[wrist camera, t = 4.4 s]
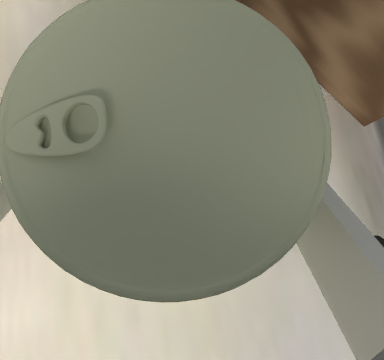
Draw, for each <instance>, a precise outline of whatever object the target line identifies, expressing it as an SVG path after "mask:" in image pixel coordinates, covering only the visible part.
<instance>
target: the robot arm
mask: <svg viewBox="0 0 384 360" xmlns="http://www.w3.org/2000/svg"><path fill="white" fill-rule="evenodd" d="M10 210H11V206H10V204H9V202H8V199H7V197H6V194H5V191H4V188H3V185H2V183H1V181H0V221H1V220H2V219H3V218H4V217H5V215H6V214H7V213H8V212H9V211H10ZM296 243H297V245H298V247H299V249H300V251H301V253H302V255H303V257H304V259H305V261H306V263H307V265H308V267H309V268H310V270H311V272H312V274H313V276H314V278H315V280H316V282H317V284H318V286H319V288H320V290H321V292H322V294H323V296H324V298H325V300H326V301H327V303H328V305H329V307H330V309H331V311H332V313H333V315H334V317H335V319H336V321H337V323H338V325H339V327H340V329H341V331H342V332H343V334H344V336H345V338H346V340H347V342H348V344H349V346H350V348H351V350H352V352H353V354H354V356H355V358H356V360H384V239H383V238H381V237H380V236H373V235H372V234H371V232H370V231H369V230H368V229H367V228H366V227H365V226H364V224H363V223H362V222H361V221H360V220H359V219H358V218H357V216H356V215H355V214H354V213H353V212H352V211H351V210H350V209H349V207H348V206H347V205H346V204H345V203H344V202H343V201H342V199H341V198H340V197H339V196H338V195H337V194H336V193H335V191H334V190H333V189H332V188H331V187H330V186H329V185H328V184H326V188H325V191H324V194H323V196H322V199H321V202H320V204H319V207H318V209H317V211H316V213H315V215H314V217H313V219H312V221H311V222H310V224H309V226H308V227H307V229H306V230H305V232H304V233H303V235H302V236H301V237H300V238H299V240H298V241H297V242H296Z"/></svg>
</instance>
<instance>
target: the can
mask: <svg viewBox="0 0 384 360" xmlns="http://www.w3.org/2000/svg"><path fill="white" fill-rule="evenodd" d="M330 163H331V127H330V120H329V115H328V111H327V107H326V104H325V100H324V97H323V94H322V91H321V88H320V86H319V84H318V82H317V80H316V78H315V76H314V74H313V72H312V70H311V68H310V66H309V65H308V63H307V62H306V60H305V59H304V57H303V56H302V54H301V53H300V51H299V50H298V49H297V48H296V47H295V45H294V44H293V43H292V42H291V41H290V39H289V38H288V37H287V36H286V35H285V34H283V33H282V32H281V31H280V30H279V29H278V28H277V27H276V26H275V25H274V24H272V23H271V22H270V21H268V20H267V19H266V18H264V17H263V16H262V15H260V14H259V13H257V12H256V11H254V10H252V9H251V8H249V7H247V6H246V5H244V4H242V3H240V2H238V1H235V0H88V1H86V2H84V3H82V4H79V5H78V6H76V7H74V8H73V9H71V10H69V11H68V12H66V13H65V14H63V15H62V16H60V17H59V18H58V19H56V20H55V21H54V22H53V23H52V24H51V25H49V26H48V27H47V28H46V29H45V30H44V31H43V32H42V33H41V34H40V35H39V36H38V37H37V38H36V39H35V40H34V41H33V42H32V43H31V44H30V46H29V47H28V48H27V50H26V51H25V53H24V54H23V55H22V57H21V58H20V60H19V62H18V63H17V65H16V67H15V69H14V70H13V72H12V74H11V76H10V79H9V81H8V83H7V86H6V88H5V91H4V94H3V97H2V100H1V105H0V177H1V181H2V185H3V188H4V191H5V194H6V197H7V199H8V202H9V204H10V206H11V208H12V210H13V212H14V214H15V215H16V217H17V219H18V221H19V223H20V224H21V226H22V227H23V229H24V230H25V232H26V233H27V234H28V235H29V237H30V238H31V239H32V240H33V241H34V243H35V244H36V245H37V246H38V247H39V248H40V249H41V250H42V251H43V252H44V253H45V255H47V256H48V257H49V258H50V259H51V260H52V261H54V262H55V263H56V264H57V265H58V266H60V267H61V268H62V269H64V270H65V271H66V272H68V273H70V274H71V275H73V276H74V277H76V278H78V279H79V280H81V281H83V282H85V283H87V284H89V285H91V286H94V287H96V288H98V289H100V290H103V291H106V292H109V293H112V294H115V295H118V296H121V297H126V298H130V299H135V300H142V301H151V302H182V301H189V300H197V299H202V298H206V297H210V296H215V295H218V294H221V293H224V292H227V291H230V290H232V289H234V288H237V287H239V286H241V285H243V284H245V283H247V282H248V281H250V280H252V279H254V278H255V277H257V276H259V275H261V274H262V273H263V272H265V271H266V270H267V269H269V268H270V267H271V266H273V265H274V264H275V263H276V262H278V261H279V260H280V259H281V258H282V257H283V256H284V255H285V254H286V253H287V252H288V251H289V250H290V249H291V248H292V247H293V246H294V245H295V243H296V242H297V241H298V240H299V238H300V237H301V236H302V235H303V233H304V232H305V230H306V229H307V227H308V226H309V224H310V222H311V221H312V219H313V217H314V215H315V213H316V211H317V209H318V207H319V204H320V202H321V199H322V196H323V194H324V191H325V188H326V184H327V180H328V175H329V170H330Z"/></svg>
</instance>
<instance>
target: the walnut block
mask: <svg viewBox="0 0 384 360" xmlns="http://www.w3.org/2000/svg"><path fill="white" fill-rule="evenodd" d="M235 1H238V2H240V3H242V4H244V5H246V6H247V7H249V8H251V9H252V10H254V11H256V12H257V13H259V14H260V15H262V16H263V17H264V18H266V19H267V20H268V21H270V22H271V23H272V24H274V25H275V26H276V27H277V28H278V29H279V30H280V31H281V32H282V33H283V34H285V35H286V36H287V37H288V38H289V39H290V41H291V42H292V43H293V44H294V45H295V47H296V48H297V49H298V50H299V51H300V53H301V54H302V56H303V57H304V59H305V60H306V62H307V63H308V65H309V66H310V68H311V70H312V72H313V74H314V76H315V78H316V80H317V82H318V83H319V84H320V85H321V86H323V87H324V88H325V89H326V90H327V91H328V92H329V93H330V94H331V95H332V96H333V97H334V98H335V99H336V100H337V101H338V102H339V103H340V104H341V105H342V106H343V107H344V108H346V109H347V110H348V111H349V112H350V113H351V114H352V115H353V116H354V117H355V118H356V119H357V120H358V121H359V122H360V123H361V124H362V125H363V126H366V125H368V124H370V123H372V122H374V121H376V120H378V119H380V118H382V117H384V0H235Z"/></svg>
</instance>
